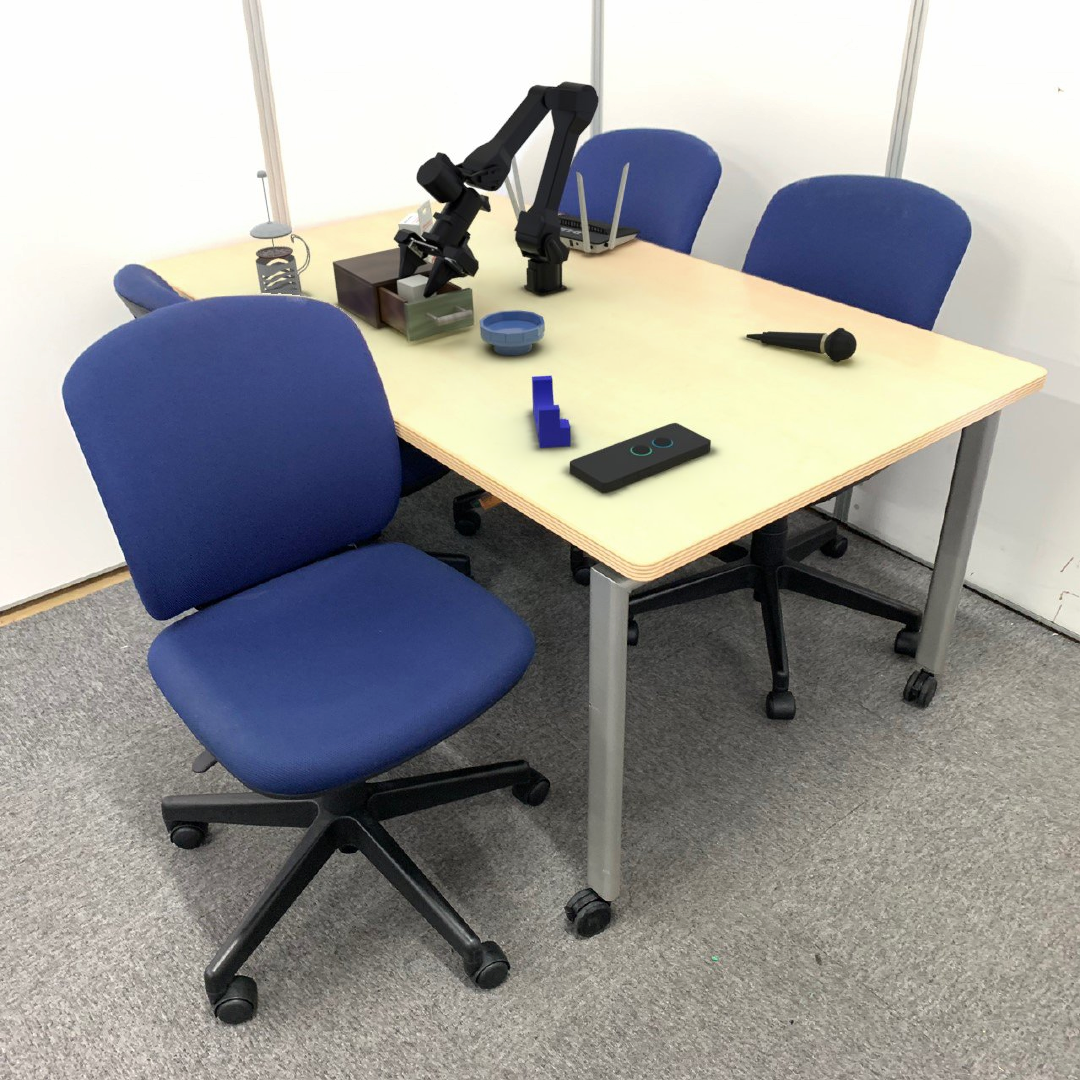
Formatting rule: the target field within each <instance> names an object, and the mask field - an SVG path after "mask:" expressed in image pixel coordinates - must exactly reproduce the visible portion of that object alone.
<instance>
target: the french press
mask: <svg viewBox="0 0 1080 1080" xmlns="http://www.w3.org/2000/svg"><path fill="white" fill-rule="evenodd" d="M267 177H268V174H267V172H266V171H265V170H258V171H257V173H256V178H258V179H261V180H262V187H263V193H264V199H265V205H266V212H267V217H268V218H267V219H268V221H265V222H262V223H260V224H258V225H255V226H254V227H252V229H251V230H249V235H250V236H251V237H252V238H253V239H258V240H271V243H272V246H266V247H262V248H260V249H258V250H257V251H256V252H255V255H256V257H258V258H256V259H255V265H256V266H255V267H256V273H257V276H258V283H259V289H260V294H261V293H271V294H278V293H281V294H292V295H300V296H306V297H307V295H306V294H305V293H303V292H302V285H301V277H300V275H301V274H302V273H303V272H304V271H306V270H307V268H308V267H309V265H310V262H311V252H310V247H309V245H308V244H307V242H306V241H305V240H304V239H303V237H301V236H299V235H297V234H295V233H292V232H293V228H292V227H291V226H289V225H288V224H286V223H283V222H279V221H272V220H271V218H270V212H269V206H268V201H267V195H266V188H265V181H264V179H266V178H267ZM289 235H290V241H291V243H292V244H295V239H297V240H300V241H301V242H303V244H304V247H305V249H306V258H305V262H304V264H303V265H302V266H301V267H300V268H298V266H297V260H296V256H294V254H293V252H294V250H293V248H292V247H289V246H284V245H280V246H279V245H278V246H277V245H276V246H275V242H274V240H275V239H279V238H280V239H281V238H284V237H287V236H289ZM278 259H279V260H284V261H286V262H283V261H276V260H278ZM272 261H276V262H272ZM271 262H272V263H271ZM270 263H271V264H270ZM279 272H281V273H279ZM277 273H279V274H277ZM271 276H272V278H270V277H271ZM269 278H270V279H269ZM270 284H271V285H270Z"/></svg>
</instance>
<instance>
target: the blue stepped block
mask: <svg viewBox="0 0 1080 1080" xmlns="http://www.w3.org/2000/svg"><path fill="white" fill-rule="evenodd" d="M531 389H532V390H531V391H532V392H531V393H532V394H531V395H532V415H533V421H534V425H535V429H536V436H537V440H538V446H539V448H540V449H547V448H562V447H571V446H572V445H571V443H572V442H571V440H572V439H571V437H572V436H571V433H572V432H571V425H570V420H569V419H566V418H561V408H560V404H555V401H554V400H555V399H554V383H553V376H552V375H537V376H531Z"/></svg>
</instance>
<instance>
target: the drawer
mask: <svg viewBox="0 0 1080 1080" xmlns="http://www.w3.org/2000/svg"><path fill="white" fill-rule="evenodd" d="M425 277H427V278H429V275H425ZM376 288H377V297H378V306H379V315H380V319H381V320H382V321H384V322H386V323H387V324H389V326H391V327H393V328H395V329H396V330H397V331H399V332H401V333H403V334H405V335H406V337H407V341H408V342H410V343H412V342H416V341H420V340H424V339H428V338H431V337H435V336H438V335H442V334H446V333H449V332H454V331H457V330H461V329H465V328H468V327H473V326H475V314H474V313H475V312H474V298H473V297H474V296H473V295H474V293H473V289H472V288H471V287H466V288H462V287H461V286H459V285H457V284H456V283H453V282H451V281H448V282H447V283H446V284H445V285H443V286H442V287H441V288H440V289H439V290H438V291H436V296H433V297H429V298H425V299H421V300H416V301H412V302H408V301H407V300H405V299H404V298H402V297H400V296H398V287H397V282H395V283H391V284H387V285H382V286H378V287H376Z"/></svg>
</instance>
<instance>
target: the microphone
mask: <svg viewBox="0 0 1080 1080" xmlns="http://www.w3.org/2000/svg"><path fill="white" fill-rule="evenodd" d="M745 337H746V339H751V340H754V341H759V342H760V343H762V344H764V345H768V346H772V347H777V348H778V347H779V348H784V349H790V350H795V351H801V352H808V353H813V354H814V353H815V354H819V355H824V354H826V356H827V357H829V359H830V361H832V362H833V363H836V364H838V363H840V362H842V361H847V360H849V359H850V358H851V357H852V356H853V355H854V354H855V353H856V351H857V345H858V342H857V339H856V337H855V335H854V334H853V333H852V332H850V331H848V330H846V329H845V328H844V327H837V328H836V329H835V330H833V331H831V333H829V334H828V333H826V332H801V331H799V332H797V331H762V333H747V334H746V336H745Z"/></svg>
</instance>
